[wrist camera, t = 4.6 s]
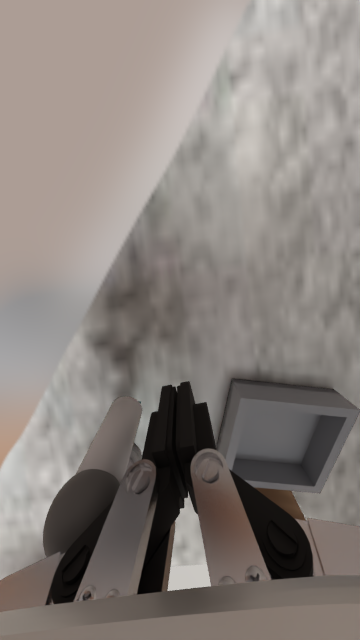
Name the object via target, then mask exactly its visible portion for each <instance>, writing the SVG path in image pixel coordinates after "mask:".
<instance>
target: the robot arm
mask: <svg viewBox="0 0 360 640" xmlns="http://www.w3.org/2000/svg"><path fill="white" fill-rule="evenodd" d="M188 492H189V495H190V498H191V501H192V504H193V507H194V511H195V512H196V513H197V514H198V516H199V521H200V527H201V532H202V538H203V543H204V549H205V554H206V560H207V565H208V571H209V576H210V582H211V587H202V588H191V589H183V590H175V591H167V589H168V580H169V573H170V565H171V557H172V549H173V541H174V533H175V520H176V518H177V517H178V515H179V514H180V509H181V508H184V498H188ZM0 640H360V527H359V526H353V525H347V524H341V523H335V522H329V521H323V520H317V519H311V518H308V521H304V520H298V519H294V518H293V517H292V516H291V515H290V514H289V513H287V512H286V511H285V510H283V509H282V508H281V507H279V506H278V505H277V504H275V503H274V502H273V501H271V500H270V499H269V498H267V497H266V496H265V495H263V494H262V493H261V492H259V491H258V490H257V489H255V488H254V487H253V486H251V485H250V484H249V483H247V482H246V481H245V480H243V479H242V478H241V477H239V476H238V475H237V474H235V473H234V472H233V471H231V470H230V469H229V468H228V465H227V463H226V460H225V459H224V457H223V455H222V454H221V453H220V452H218V451H216V446H215V441H214V436H213V430H212V425H211V421H210V416H209V412H208V407H207V403H206V402H204V403H199V404H195V401H194V397H193V393H192V389H191V385H190V382H189V381H188V382H183V383H180V386H177V391H176V387H172V385H167V386H163V387H162V391H161V397H160V403H159V409H158V411H156V412H152V414H151V417H150V422H149V427H148V432H147V436H146V441H145V446H144V451H143V455H142V460H139V461H137V462H135V463H134V464H133V465H131V466H130V467H129V469H128V470H127V471H126V473H125V475H124V476H123V479H122V481H121V484H120V486H119V489H118V491H117V494H116V496H115V499H114V500H113V501H112V502H111V503H110V504H109V505H108V506H107V507H106V508H105V510H104V511H103V512H102V513H101V514H100V515H99V516H98V517H97V518H96V519H95V520H94V521H93V522H92V523H91V525H90V526H89V527H88V528H87V529H86V530H85V531H84V532H83V533H82V534H81V535H80V536H79V537H78V538H77V539H76V541H75V542H74V543H73V544H72V545H71V546H70V548H69V549H68V550H67V551H66V553H64V554H62V553H61V551H60V552H58V553H56V554H54V555H52V556H49V557H47V558H45V559H43V560H41V561H39V562H37V563H35V564H32V565H30V566H28V567H26V568H24V569H22V570H20V571H17V572H15V573H13V574H11V575H9V576H7V577H5V578H3V579H2V580H0Z"/></svg>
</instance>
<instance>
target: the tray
mask: <svg viewBox="0 0 360 640" xmlns="http://www.w3.org/2000/svg"><path fill="white" fill-rule="evenodd" d="M359 413H360V409H358V408H357V407H356V406H354V405H353V404H352V403H351V402H349V401H348V400H347V399H345V398H344V397H343V396H342V395H340V394H339V393H338V392H336V391H335V390H334V389H325V388H315V387H306V386H296V385H287V384H277V383H268V382H258V381H249V380H240V379H232V381H231V385H230V390H229V394H228V399H227V403H226V407H225V412H224V416H223V421H222V425H221V429H220V434H219V438H218V443H217V447H216V451H218V452H220V453H221V454H222V455H223V457H224V459H225V460H226V463H227V465H228V468H229V469H230V470H231V471H233V472H234V473H235V474H237V475H238V476H239V477H241V478H242V479H243V480H245V481H246V482H247V483H249V484H250V485H251V486H253V487H256V488H267V489H278V490H289V491H300V492H311V493H321V490H322V488H323V486H324V484H325V482H326V480H327V478H328V476H329V474H330V472H331V470H332V468H333V466H334V464H335V462H336V460H337V458H338V456H339V454H340V451H341V449H342V447H343V445H344V443H345V441H346V439H347V437H348V435H349V433H350V431H351V429H352V427H353V425H354V423H355V421H356V419H357V417H358V415H359Z"/></svg>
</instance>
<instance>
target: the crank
mask: <svg viewBox="0 0 360 640" xmlns="http://www.w3.org/2000/svg"><path fill="white" fill-rule="evenodd" d="M141 415H142V406H141V402H139V401H137V400H136V399H134V398H132V397H127V396H124V397H119V398H117V399H116V400H115V401H114V402H113V403H112V405H111V407H110V409H109V411H108V413H107V415H106V417H105V419H104V421H103V423H102V425H101V426H100V428H99V430H98V432H97V434H96V436H95V438H94V440H93V442H92V444H91V446H90V448H89V450H88V451H87V453H86V455H85V457H84V459H83V461H82V463H81V465H80V467H79V469H78V471H77V473H76V475H75V476H73V477H72V478H71V479H70V480H69V481H68V482H67V483H66V484H65V485H64V486H63V487H62V488H61V490H60V491H59V492H58V494H57V495H56V497H55V499H54V500H53V502H52V504H51V506H50V509H49V511H48V514H47V517H46V521H45V525H44V531H43V545H44V550H45V554H46V556H47V557H49V556H52V555H54V554H56V553H58V552H60V551H61V553H62V554H64V553H66V551H67V550H68V549H69V548H70V546H71V545H72V544H73V543H74V542H75V541H76V539H77V538H78V537H79V536H80V535H81V534H82V533H83V532H84V531H85V530H86V529H87V528H88V527H89V526H90V525H91V523H92V522H93V521H94V520H95V519H96V518H97V517H98V516H99V515H100V514H101V513H102V512H103V511H104V510H105V508H106V507H107V506H108V505H109V504H110V503H111V502H112V501H113V500H114V499H115V496H116V494H117V491H118V489H119V486H120V484H121V481H122V479H123V476H124V475H125V472H126V469H127V465H128V462H129V458H130V454H131V451H132V447H133V444H134V440H135V436H136V433H137V429H138V426H139V422H140V418H141Z"/></svg>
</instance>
